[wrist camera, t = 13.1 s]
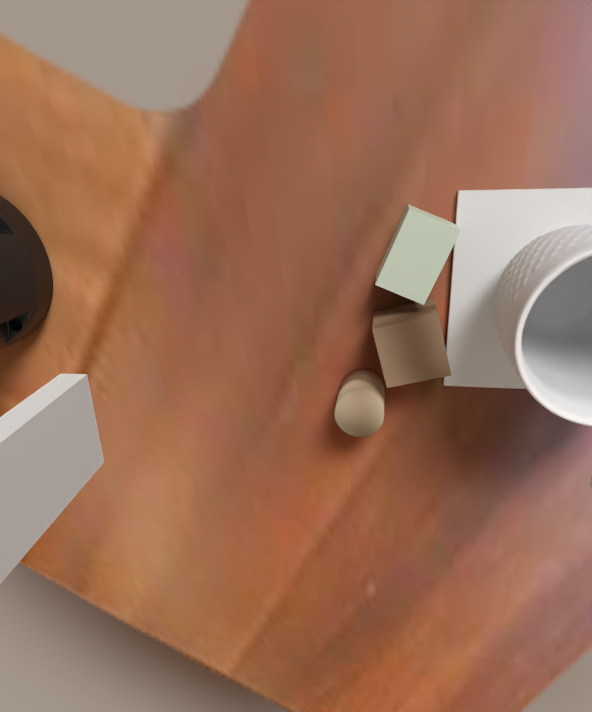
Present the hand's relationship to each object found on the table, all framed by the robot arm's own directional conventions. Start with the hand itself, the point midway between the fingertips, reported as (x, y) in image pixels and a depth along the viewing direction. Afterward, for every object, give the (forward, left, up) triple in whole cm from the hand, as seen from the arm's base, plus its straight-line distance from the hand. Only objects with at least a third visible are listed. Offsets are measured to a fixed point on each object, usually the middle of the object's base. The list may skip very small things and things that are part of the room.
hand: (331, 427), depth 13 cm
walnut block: (+3, -8, -31) cm, 33 cm away
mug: (+15, -4, -31) cm, 34 cm away
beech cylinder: (-1, -13, -31) cm, 34 cm away
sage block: (+3, -1, -32) cm, 32 cm away
